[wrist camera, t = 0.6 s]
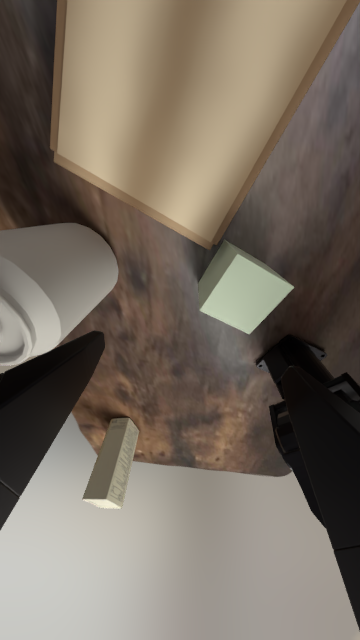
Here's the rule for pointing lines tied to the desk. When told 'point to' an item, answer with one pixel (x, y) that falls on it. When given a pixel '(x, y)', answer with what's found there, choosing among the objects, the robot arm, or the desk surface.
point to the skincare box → (113, 465)
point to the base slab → (183, 97)
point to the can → (49, 285)
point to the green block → (240, 288)
